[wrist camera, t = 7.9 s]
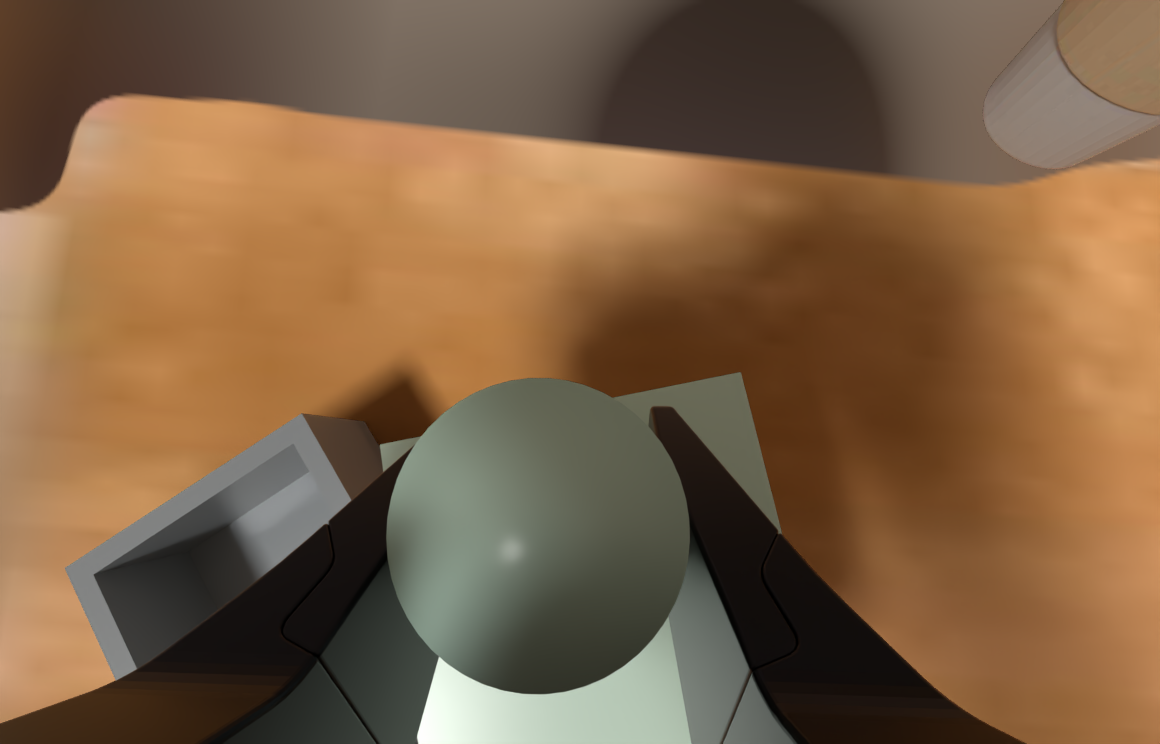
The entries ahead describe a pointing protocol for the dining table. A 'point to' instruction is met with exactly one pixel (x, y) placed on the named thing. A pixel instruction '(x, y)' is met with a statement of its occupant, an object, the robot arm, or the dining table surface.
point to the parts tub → (220, 536)
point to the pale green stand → (556, 557)
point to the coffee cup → (1079, 84)
